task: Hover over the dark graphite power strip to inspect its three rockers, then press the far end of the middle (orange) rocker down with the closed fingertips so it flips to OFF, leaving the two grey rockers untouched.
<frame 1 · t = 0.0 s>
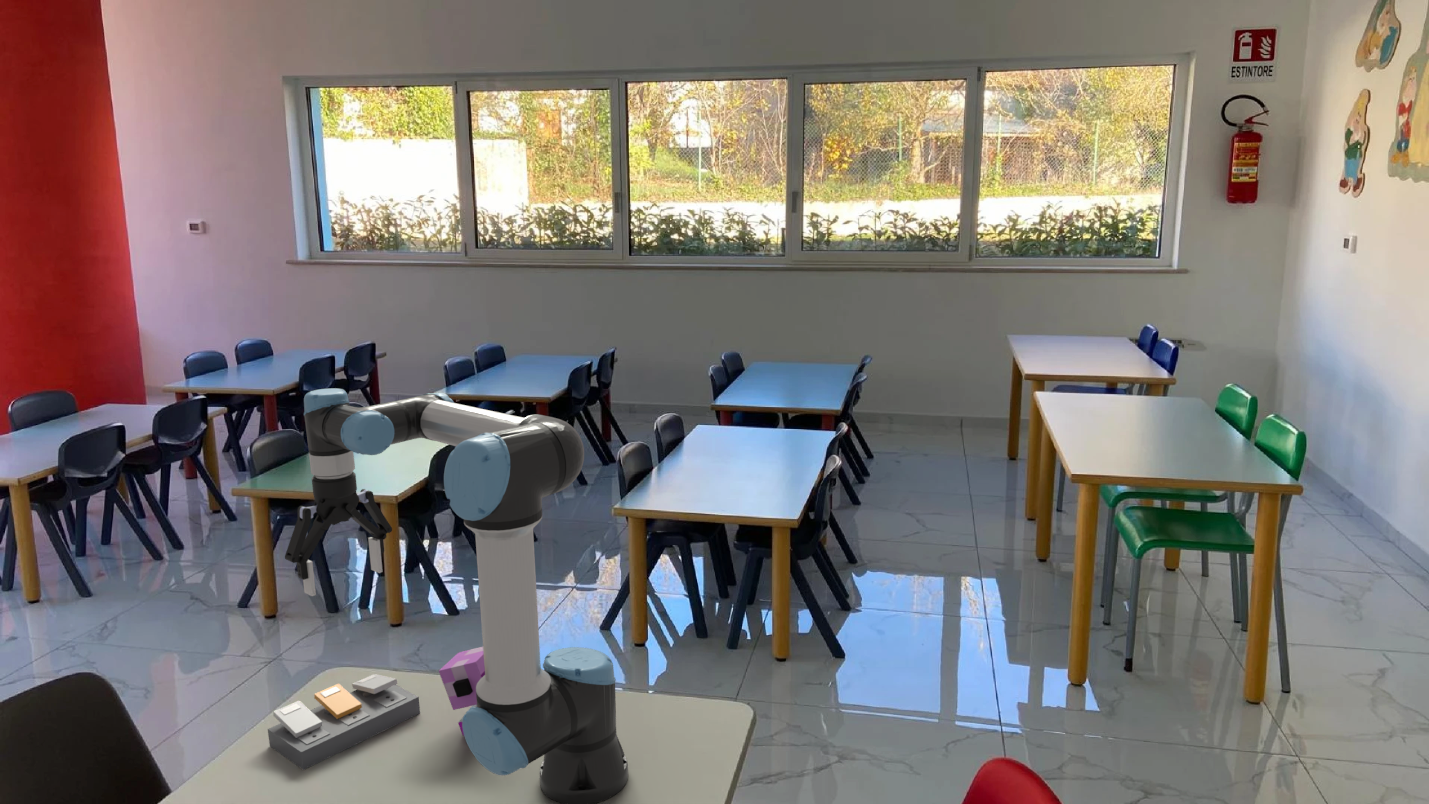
hand: (344, 582, 184), 28 cm above the table, fingers open, 13 cm apart
rocker 3: (297, 718, 180), point 5 cm above the table, hinge at -11.0°
rocker 2: (337, 700, 186), point 5 cm above the table, hinge at -11.0°
rocker 1: (374, 683, 192), point 5 cm above the table, hinge at 11.0°
power strip: (347, 729, 186), on the table
toy: (482, 725, 187), on the table
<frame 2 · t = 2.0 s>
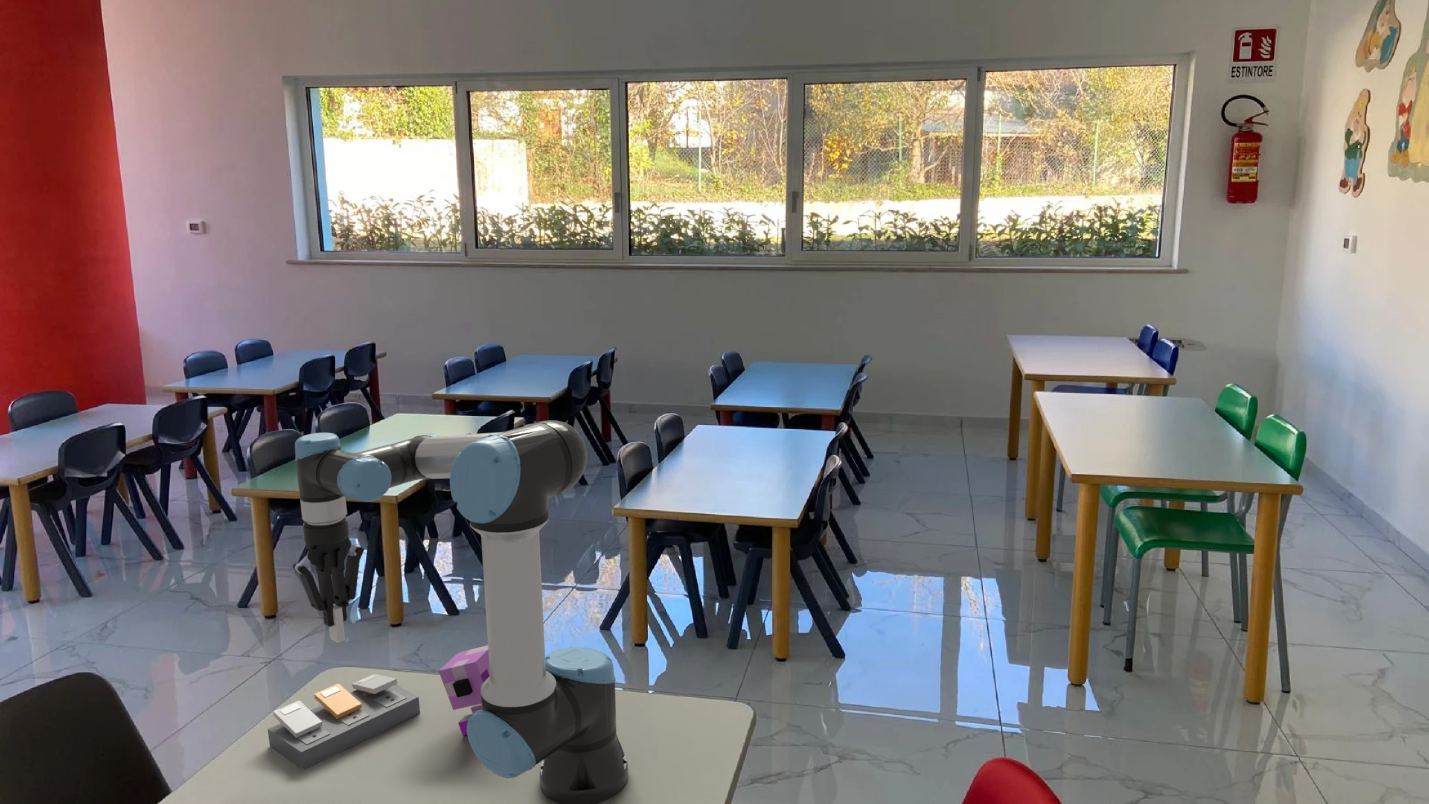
hand: (337, 639, 182), 18 cm above the table, fingers closed
nothing on the table moved.
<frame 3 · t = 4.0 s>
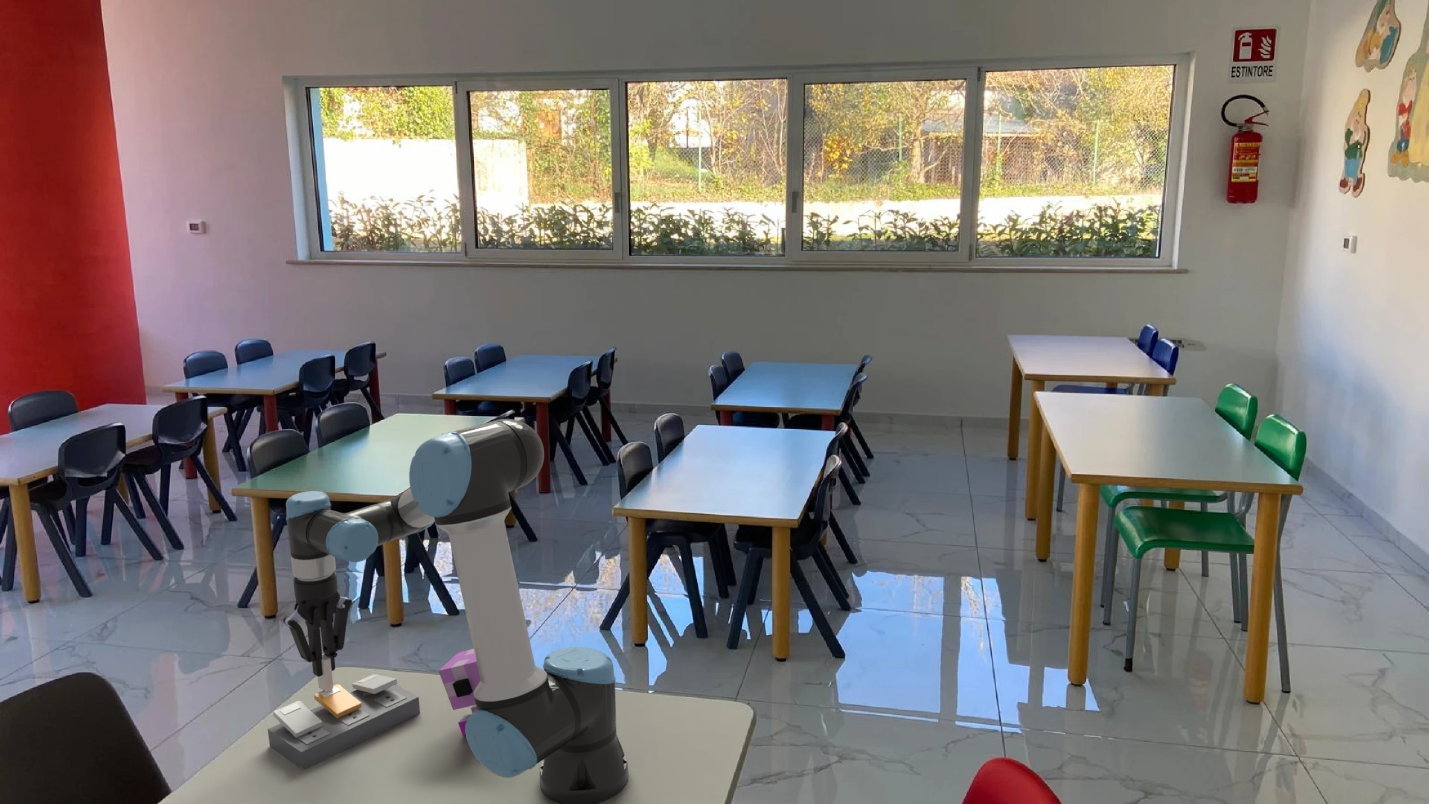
hand: (326, 688, 188), 6 cm above the table, fingers closed
rocker 2: (337, 700, 186), point 5 cm above the table, hinge at -8.7°, touching gripper
everything else where it was.
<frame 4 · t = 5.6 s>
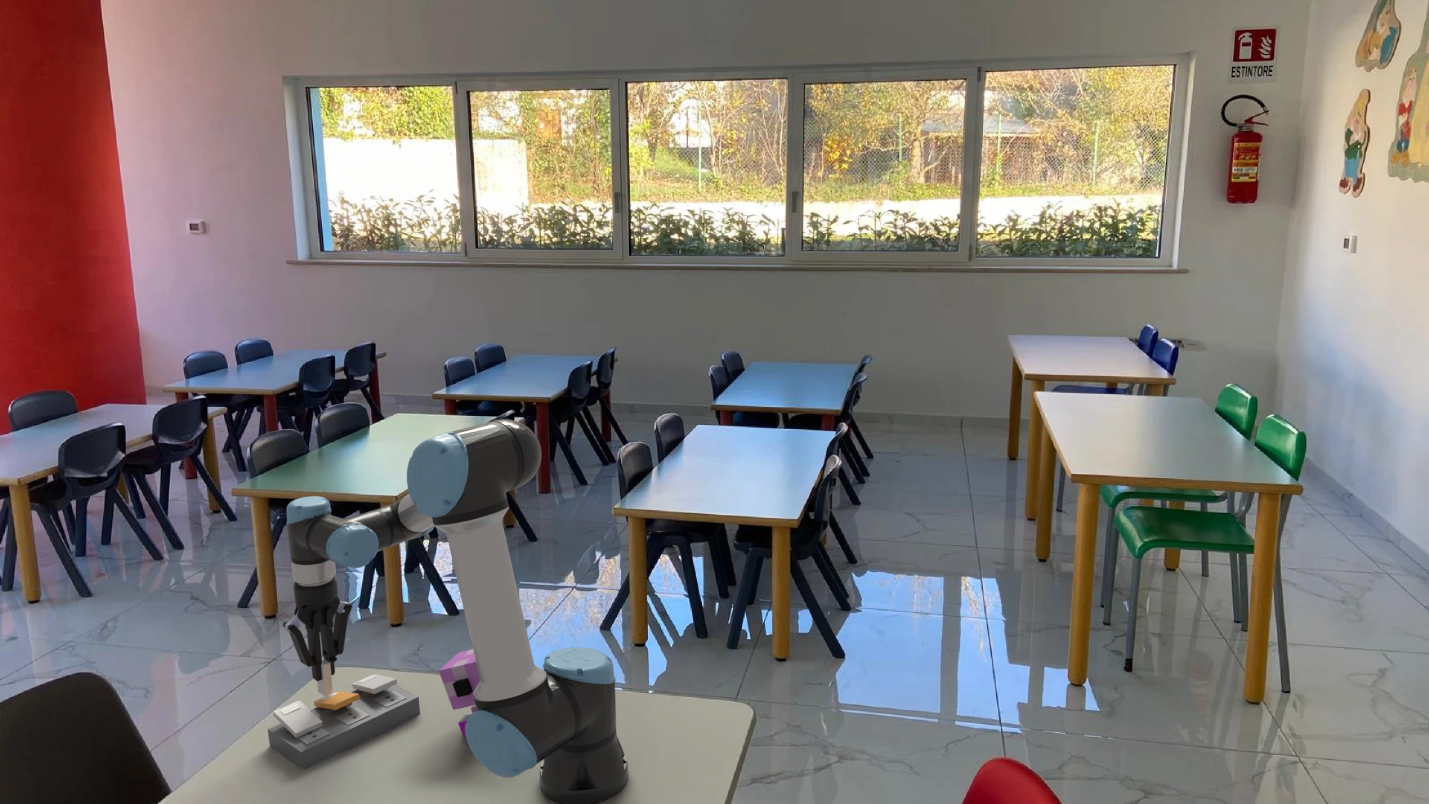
hand: (325, 692, 189), 5 cm above the table, fingers closed
rocker 2: (336, 700, 186), point 5 cm above the table, hinge at 14.9°, touching gripper
everything else where it was.
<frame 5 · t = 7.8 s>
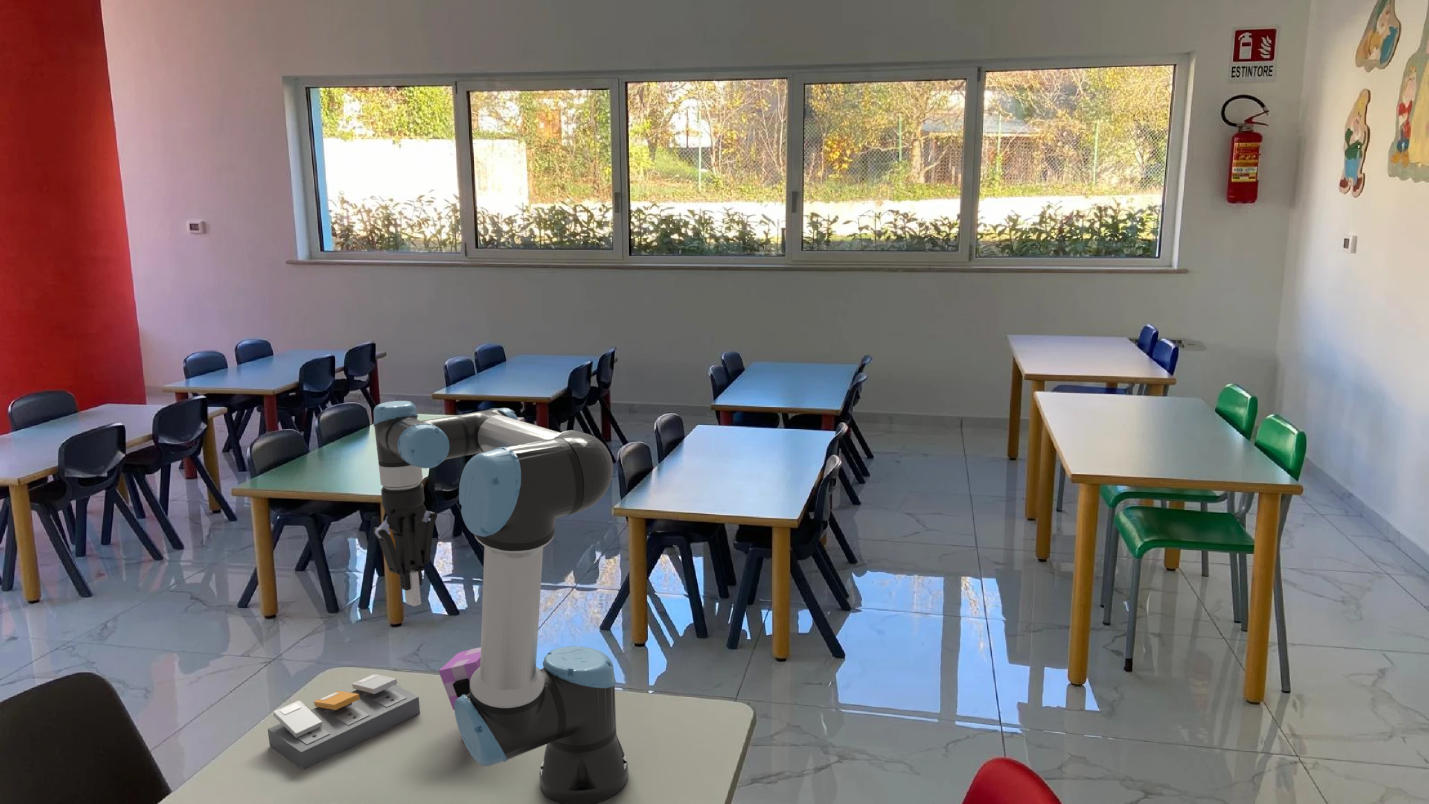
hand: (413, 603, 187), 23 cm above the table, fingers closed
rocker 2: (336, 700, 186), point 5 cm above the table, hinge at 15.0°
everything else where it was.
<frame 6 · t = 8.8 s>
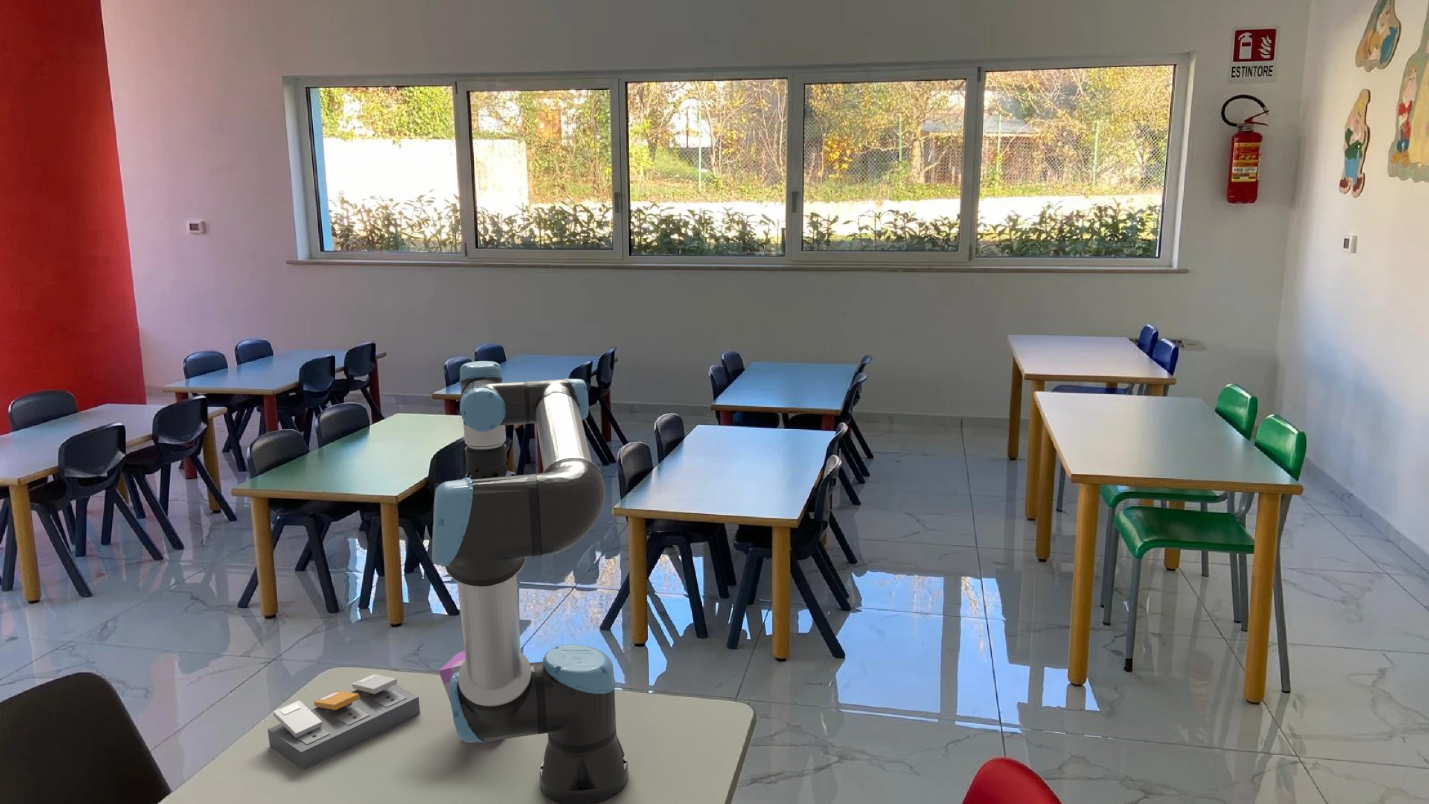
hand: (493, 562, 189), 29 cm above the table, fingers closed
nothing on the table moved.
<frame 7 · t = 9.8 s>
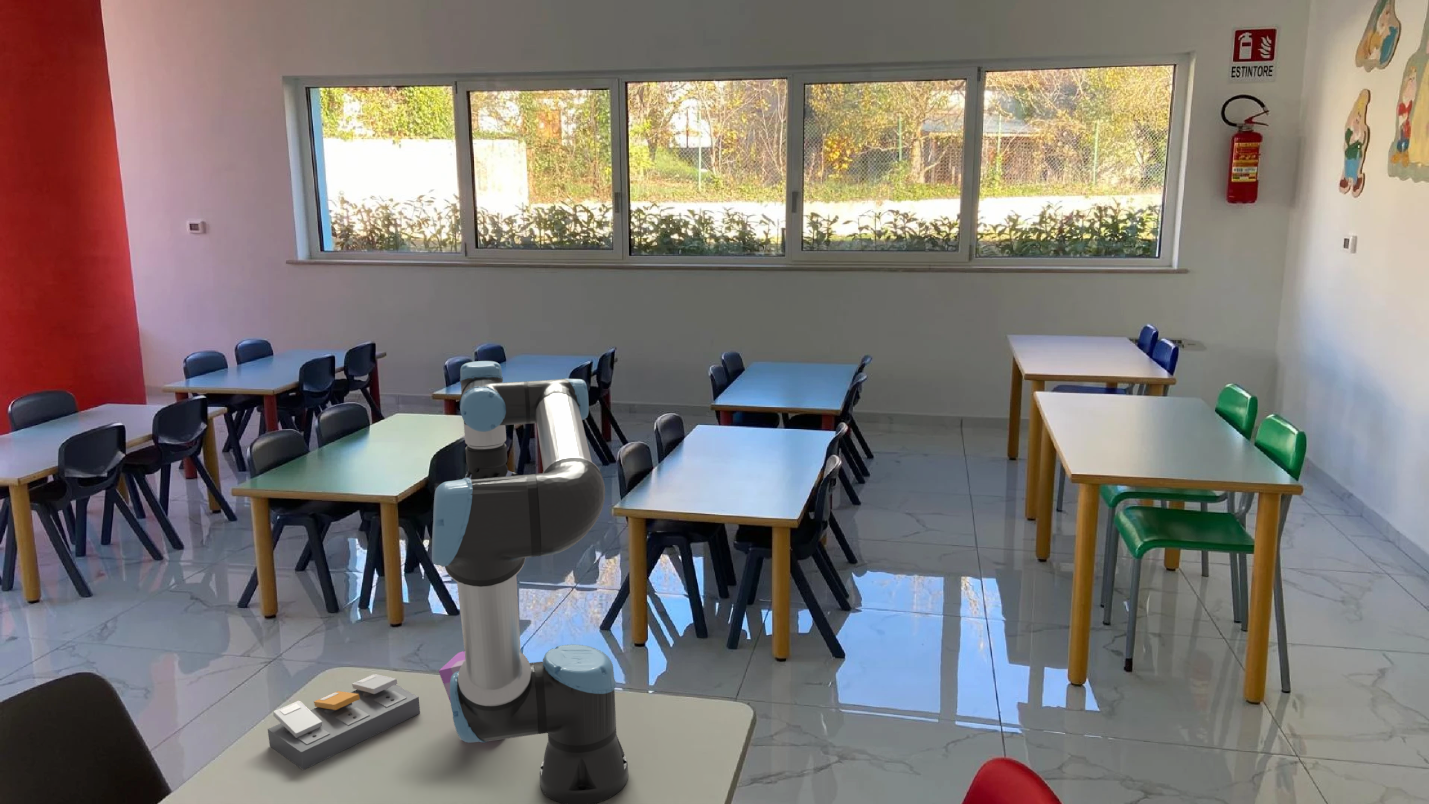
hand: (493, 562, 189), 29 cm above the table, fingers closed
nothing on the table moved.
at the end: rocker 2 at +15° (first picture: -11°); rocker 3 at -11° (first picture: -11°); rocker 1 at +11° (first picture: +11°) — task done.
